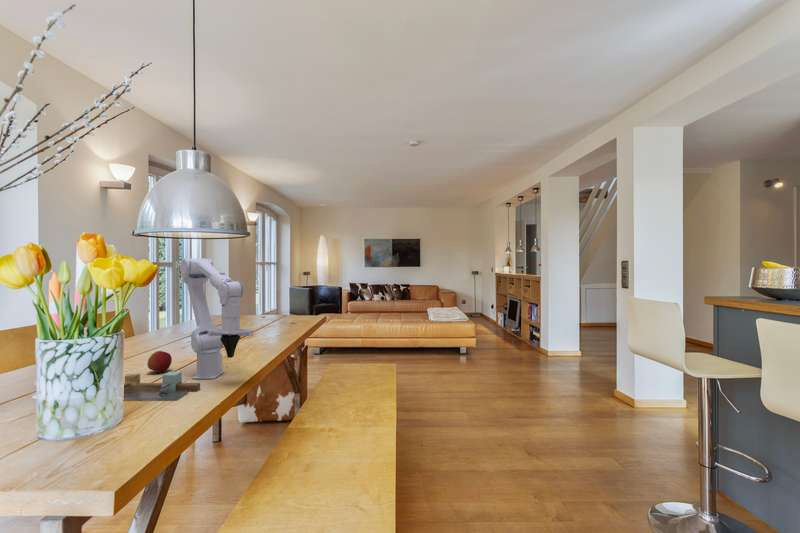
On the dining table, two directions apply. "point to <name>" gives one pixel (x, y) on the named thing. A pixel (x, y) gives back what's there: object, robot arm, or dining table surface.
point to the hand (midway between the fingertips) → (230, 357)
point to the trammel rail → (155, 384)
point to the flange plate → (154, 395)
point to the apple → (159, 361)
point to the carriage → (171, 381)
